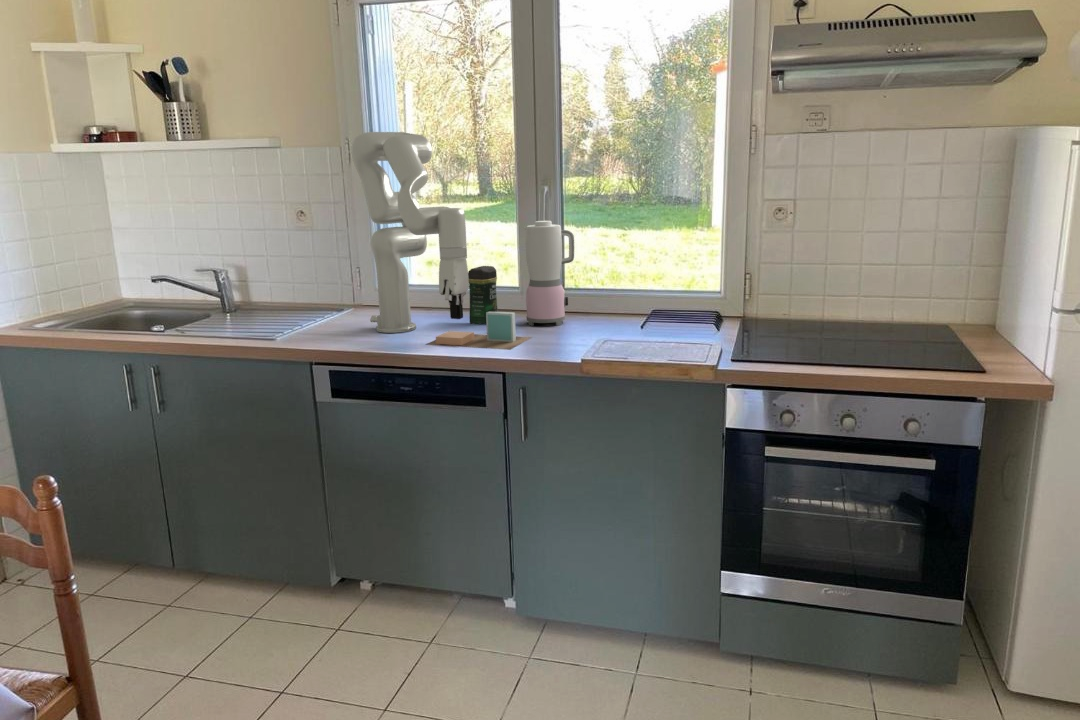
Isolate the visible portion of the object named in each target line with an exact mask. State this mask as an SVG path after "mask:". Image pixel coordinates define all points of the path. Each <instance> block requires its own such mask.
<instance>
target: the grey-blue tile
mask: <svg viewBox="0 0 1080 720" xmlns="http://www.w3.org/2000/svg"><path fill="white" fill-rule="evenodd" d="M486 323H487V325H486V335H487V340H489V341H506V342H514V341H516V336H517V333H516V313H515V312H512V311H511V312H510V311H509V312H508V311H507V312H506V311H498V312H490V311H489V312H487V313H486Z"/></svg>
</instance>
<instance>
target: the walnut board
mask: <svg viewBox="0 0 1080 720" xmlns="http://www.w3.org/2000/svg"><path fill="white" fill-rule="evenodd" d="M532 338H533V336H517V335H516V341H514V342H506V341H489V340H487V334H481V333H479V334H477V333H474V340H472V341H470V342H468V343H466V344H463V345H448V344H436V339H434V340H432V341H430V342H428V343H426V344H425V346H426V345H428V346H440V347H441V346H443V347H458V348H459V347H460V348H476V349H477V348H478V349H490V350H491V349H493V350H513V349H514V348H516V347H518V346H519V345H522V344H523V343H525V342H527V341H528V340H530V339H532Z"/></svg>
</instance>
